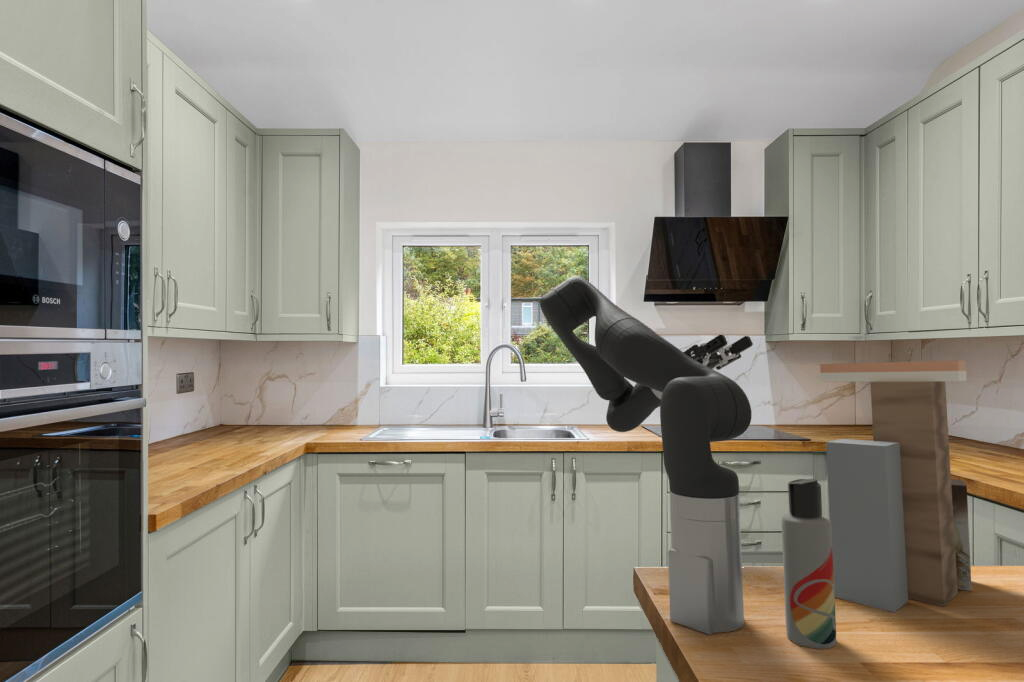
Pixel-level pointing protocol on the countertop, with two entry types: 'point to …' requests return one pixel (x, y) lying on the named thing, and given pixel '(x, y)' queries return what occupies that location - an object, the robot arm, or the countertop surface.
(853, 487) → the grey stand
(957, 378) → the bar
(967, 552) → the coffee box
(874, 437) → the walnut stand
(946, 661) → the countertop surface
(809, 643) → the lotion bottle
